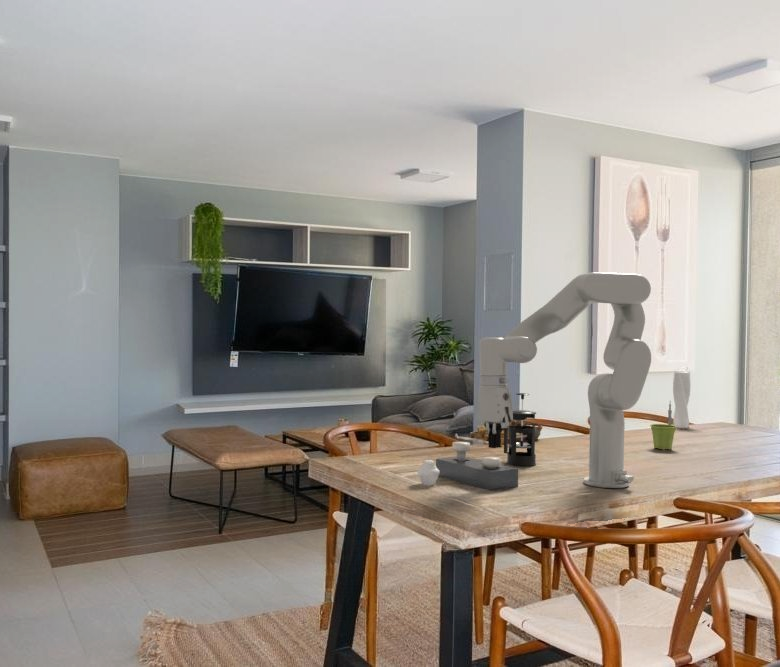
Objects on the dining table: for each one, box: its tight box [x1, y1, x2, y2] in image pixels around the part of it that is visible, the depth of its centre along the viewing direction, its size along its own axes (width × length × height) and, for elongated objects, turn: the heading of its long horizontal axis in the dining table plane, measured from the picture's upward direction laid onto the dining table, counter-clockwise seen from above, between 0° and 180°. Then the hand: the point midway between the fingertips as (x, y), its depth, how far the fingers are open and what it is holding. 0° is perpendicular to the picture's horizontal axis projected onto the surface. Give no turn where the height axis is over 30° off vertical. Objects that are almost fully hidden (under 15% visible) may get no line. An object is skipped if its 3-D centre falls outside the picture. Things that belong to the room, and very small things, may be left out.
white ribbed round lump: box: [417, 459, 440, 487], centre depth 214 cm, size 6×6×7 cm
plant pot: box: [649, 423, 677, 450], centre depth 286 cm, size 9×9×9 cm
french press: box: [503, 392, 537, 468], centre depth 249 cm, size 12×9×23 cm
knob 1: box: [451, 441, 471, 462], centre depth 226 cm, size 5×5×6 cm
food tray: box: [454, 419, 543, 448], centre depth 301 cm, size 35×26×11 cm
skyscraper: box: [667, 366, 691, 429], centre depth 346 cm, size 8×8×28 cm
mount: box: [435, 456, 519, 492], centre depth 220 cm, size 24×10×5 cm, turn 35°
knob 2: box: [481, 456, 502, 469], centre depth 215 cm, size 5×5×6 cm
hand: (494, 447), depth 215 cm, fingers closed
